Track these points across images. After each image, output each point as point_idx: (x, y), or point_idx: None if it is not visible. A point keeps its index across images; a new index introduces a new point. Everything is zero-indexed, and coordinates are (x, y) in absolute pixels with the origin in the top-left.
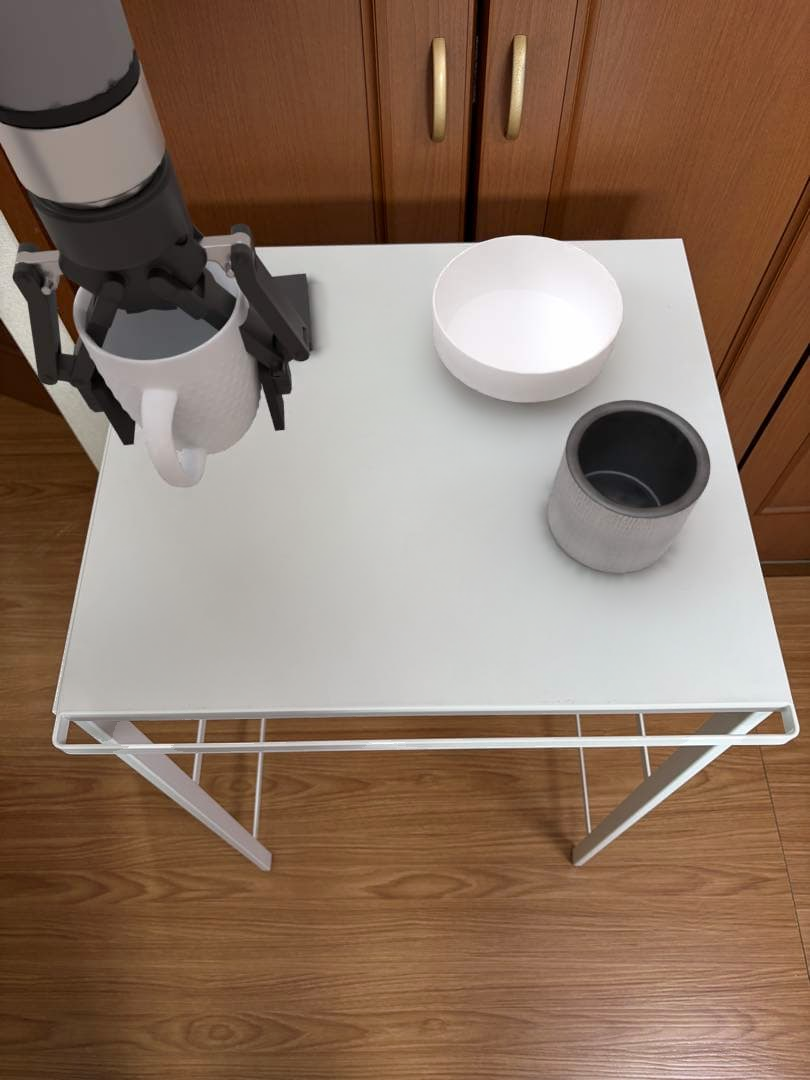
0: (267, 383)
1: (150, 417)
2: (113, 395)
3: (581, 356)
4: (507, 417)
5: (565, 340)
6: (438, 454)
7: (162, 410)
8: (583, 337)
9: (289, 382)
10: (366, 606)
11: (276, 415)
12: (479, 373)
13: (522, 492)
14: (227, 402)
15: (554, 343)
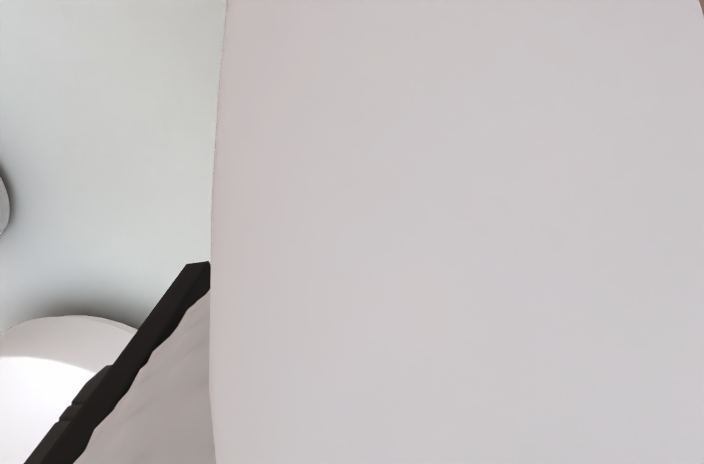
0: (84, 423)
1: (604, 278)
2: None
3: (46, 363)
4: (105, 297)
5: (73, 378)
6: (166, 252)
7: (340, 432)
8: (50, 382)
9: (64, 411)
10: (191, 26)
11: (169, 300)
12: (96, 352)
13: (52, 208)
14: (147, 368)
15: (83, 375)
